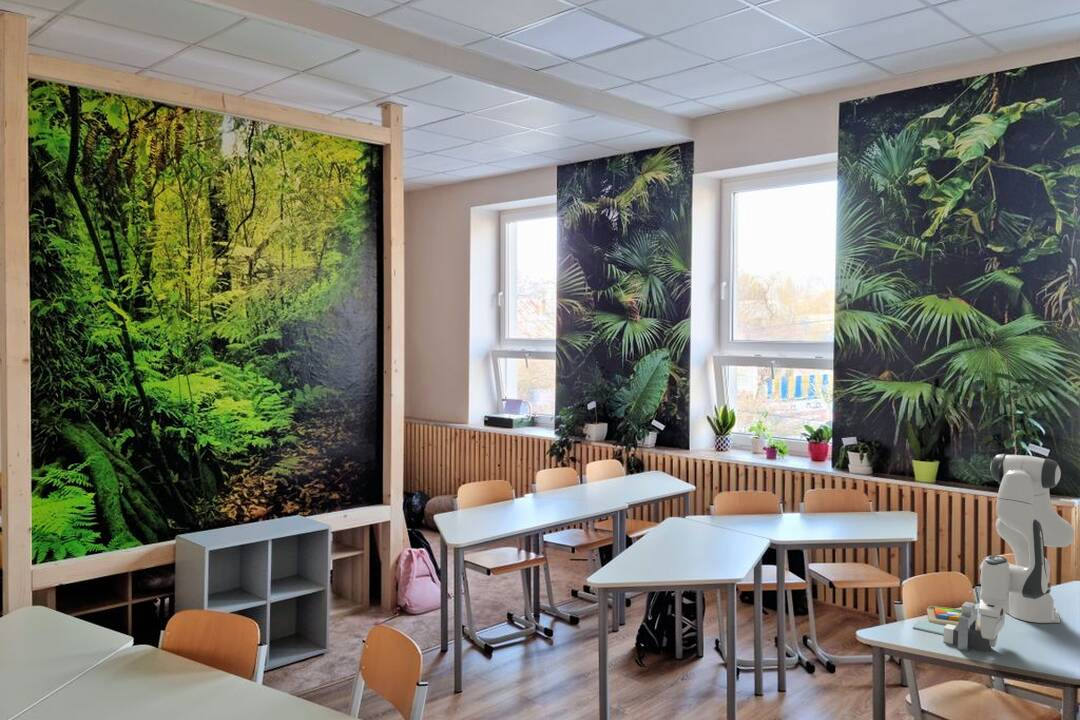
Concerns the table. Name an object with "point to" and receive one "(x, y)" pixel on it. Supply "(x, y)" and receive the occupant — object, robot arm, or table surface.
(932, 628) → the mat
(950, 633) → the plug
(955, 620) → the wooden puzzle
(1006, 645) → the table surface
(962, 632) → the housing
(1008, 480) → the robot arm
